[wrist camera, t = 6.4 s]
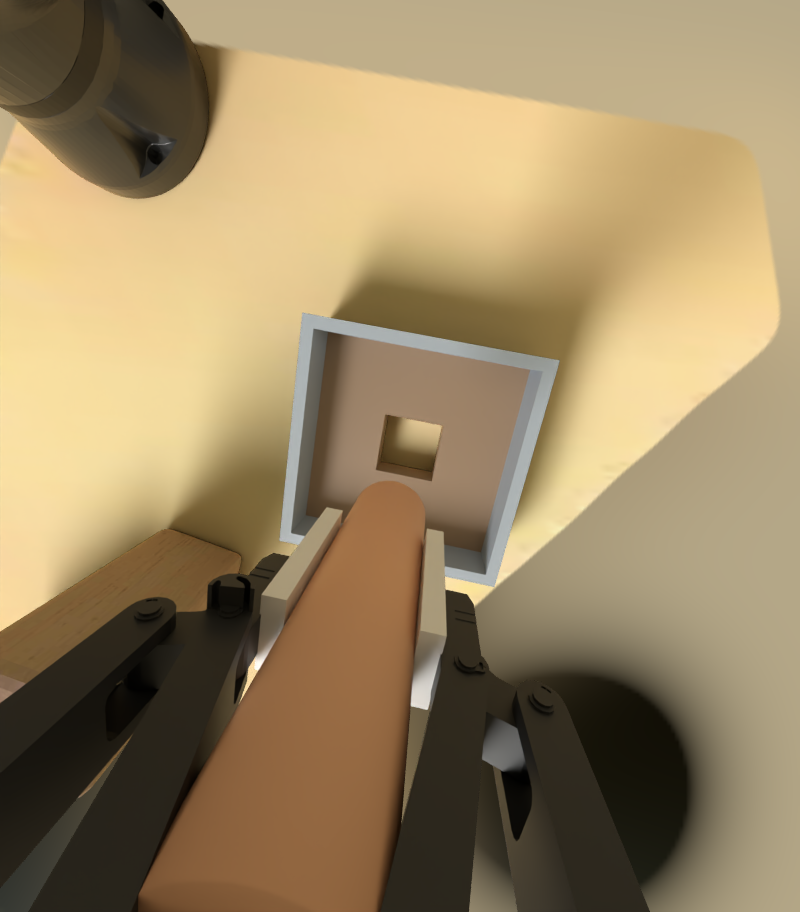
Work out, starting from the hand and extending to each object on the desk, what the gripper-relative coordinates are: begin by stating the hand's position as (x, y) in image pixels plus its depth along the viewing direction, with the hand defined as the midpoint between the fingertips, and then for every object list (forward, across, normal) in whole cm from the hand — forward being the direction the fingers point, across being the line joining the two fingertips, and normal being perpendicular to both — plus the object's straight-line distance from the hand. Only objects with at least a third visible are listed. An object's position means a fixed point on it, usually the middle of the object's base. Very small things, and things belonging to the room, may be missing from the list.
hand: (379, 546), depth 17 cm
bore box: (+22, 0, 0) cm, 22 cm away
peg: (+4, 0, 0) cm, 4 cm away
